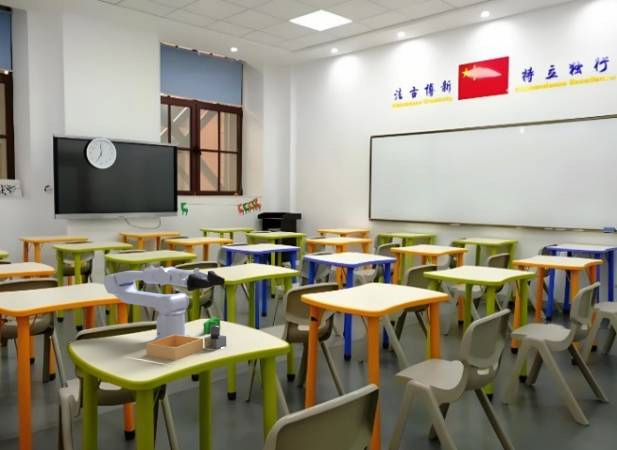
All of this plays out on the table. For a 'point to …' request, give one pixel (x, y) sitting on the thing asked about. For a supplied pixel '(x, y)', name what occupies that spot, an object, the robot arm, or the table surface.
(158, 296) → the robot arm
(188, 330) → the table surface
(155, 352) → the bin
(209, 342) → the grey stepped block
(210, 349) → the stud plate
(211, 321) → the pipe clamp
